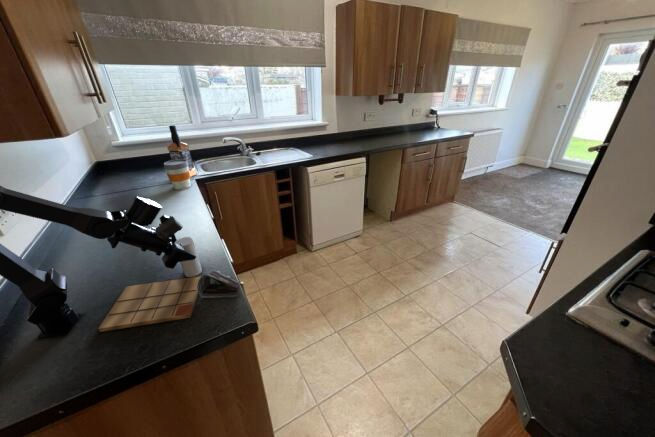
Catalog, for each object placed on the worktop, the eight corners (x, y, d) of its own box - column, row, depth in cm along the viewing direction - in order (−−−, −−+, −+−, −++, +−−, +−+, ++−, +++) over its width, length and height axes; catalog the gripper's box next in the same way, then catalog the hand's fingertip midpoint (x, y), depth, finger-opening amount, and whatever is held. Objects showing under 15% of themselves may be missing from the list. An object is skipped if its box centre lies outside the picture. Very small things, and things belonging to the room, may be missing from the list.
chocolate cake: (247, 281, 85) (218, 256, 83) (241, 291, 78) (209, 264, 76) (228, 301, 86) (198, 277, 85) (220, 313, 79) (188, 287, 78)
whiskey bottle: (174, 177, 176) (159, 126, 161) (184, 172, 184) (170, 124, 169) (188, 178, 174) (173, 127, 159) (197, 173, 182) (185, 124, 167)
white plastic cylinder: (182, 278, 87) (171, 247, 81) (186, 268, 91) (176, 238, 86) (200, 275, 88) (190, 245, 82) (203, 265, 92) (194, 236, 87)
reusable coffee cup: (168, 186, 161) (160, 162, 154) (189, 181, 169) (183, 157, 162) (174, 192, 153) (166, 166, 146) (196, 186, 160) (190, 161, 153)
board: (99, 332, 69) (97, 328, 68) (127, 289, 83) (126, 286, 82) (190, 317, 72) (189, 314, 72) (203, 278, 86) (202, 275, 86)
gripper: (166, 224, 70) (217, 244, 81) (151, 203, 83) (197, 222, 94) (141, 261, 69) (196, 276, 81) (130, 234, 82) (179, 250, 93)
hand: (192, 254), depth 87 cm, fingers closed on white plastic cylinder, 5 cm apart
